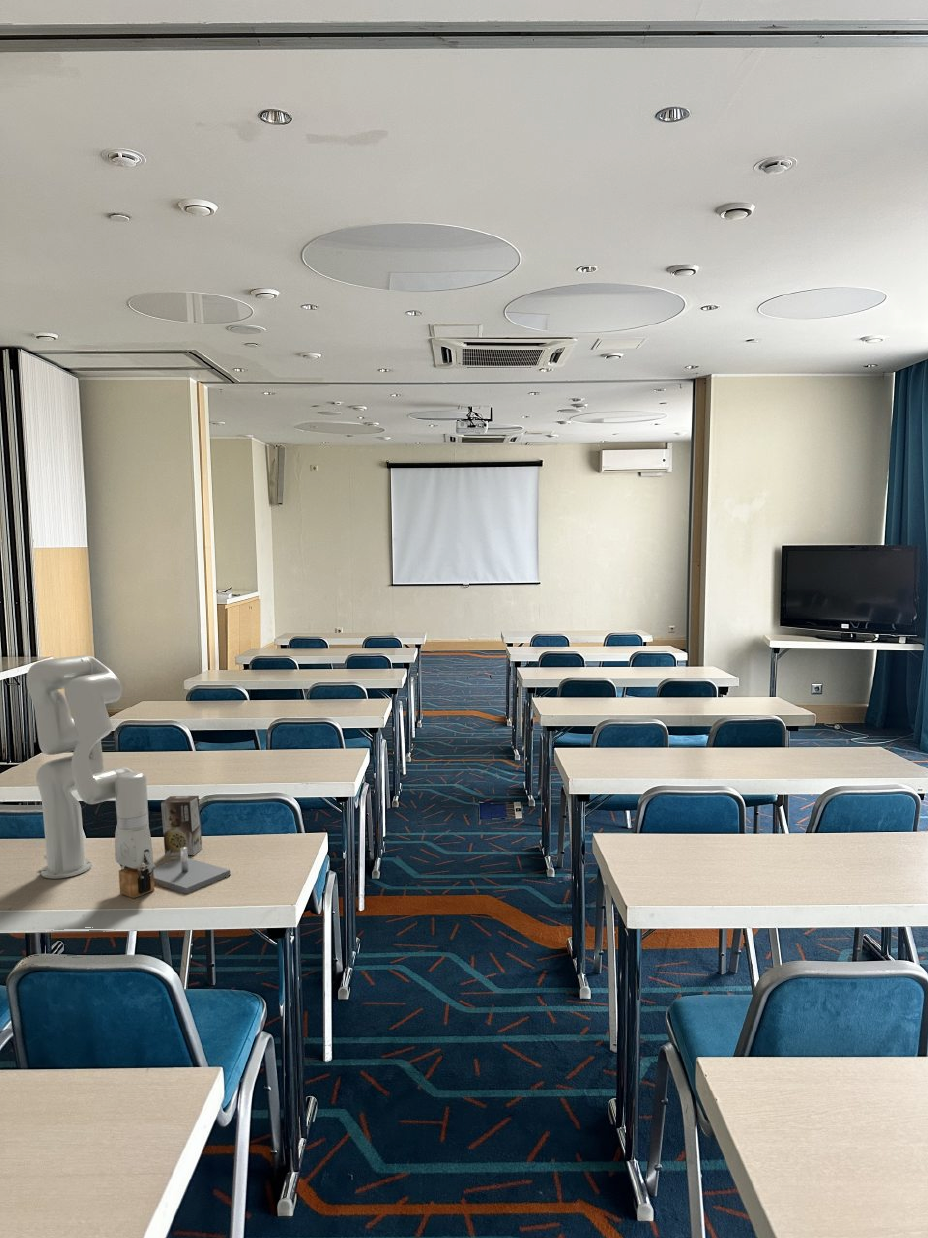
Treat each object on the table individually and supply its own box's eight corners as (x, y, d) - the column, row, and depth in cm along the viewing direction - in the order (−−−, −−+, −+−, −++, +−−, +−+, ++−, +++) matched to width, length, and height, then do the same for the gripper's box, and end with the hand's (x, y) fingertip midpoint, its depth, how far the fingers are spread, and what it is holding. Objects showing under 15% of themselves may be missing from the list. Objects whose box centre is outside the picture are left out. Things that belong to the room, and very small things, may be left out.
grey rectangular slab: (140, 878, 222) (139, 873, 222) (184, 862, 233) (183, 856, 233) (186, 893, 211) (186, 888, 210) (230, 875, 222) (230, 870, 222)
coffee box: (203, 848, 244) (199, 795, 243) (193, 856, 238) (190, 801, 237) (173, 848, 245) (170, 795, 244) (163, 856, 239) (160, 801, 238)
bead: (119, 893, 212) (118, 870, 211) (140, 885, 217) (139, 863, 216) (133, 898, 208) (132, 875, 208) (154, 890, 213) (153, 867, 213)
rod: (180, 872, 222) (178, 848, 221) (185, 870, 223) (184, 846, 223) (184, 873, 221) (182, 849, 220) (189, 871, 222) (188, 847, 222)
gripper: (100, 820, 213) (104, 887, 214) (139, 831, 203) (144, 901, 205) (126, 812, 219) (130, 877, 221) (166, 822, 209) (170, 891, 211)
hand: (137, 888), depth 213 cm, fingers closed on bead, 5 cm apart
